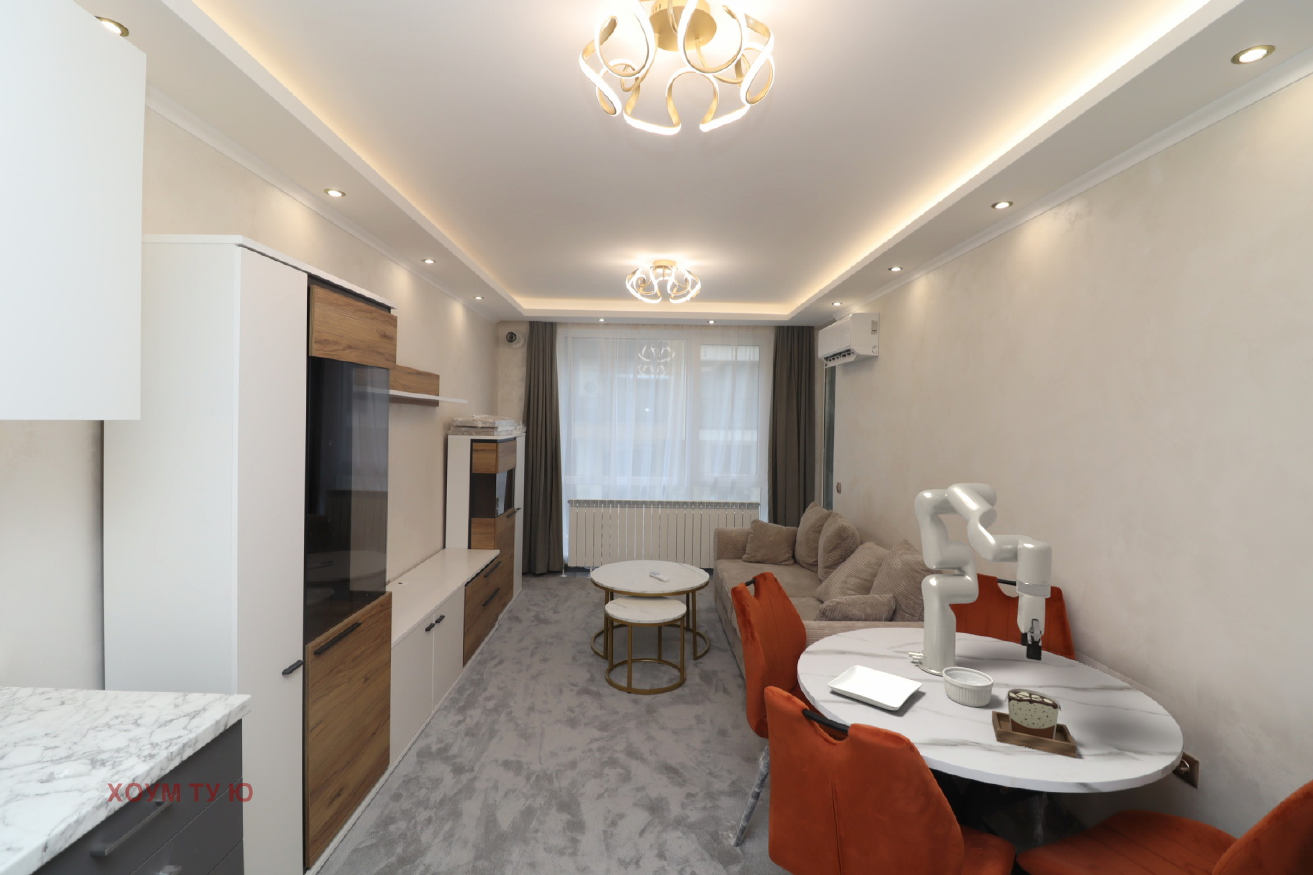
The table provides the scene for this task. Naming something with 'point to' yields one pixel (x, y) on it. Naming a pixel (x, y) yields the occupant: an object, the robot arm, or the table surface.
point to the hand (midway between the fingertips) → (1030, 652)
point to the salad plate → (874, 687)
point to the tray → (1034, 737)
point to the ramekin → (967, 686)
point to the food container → (1032, 712)
